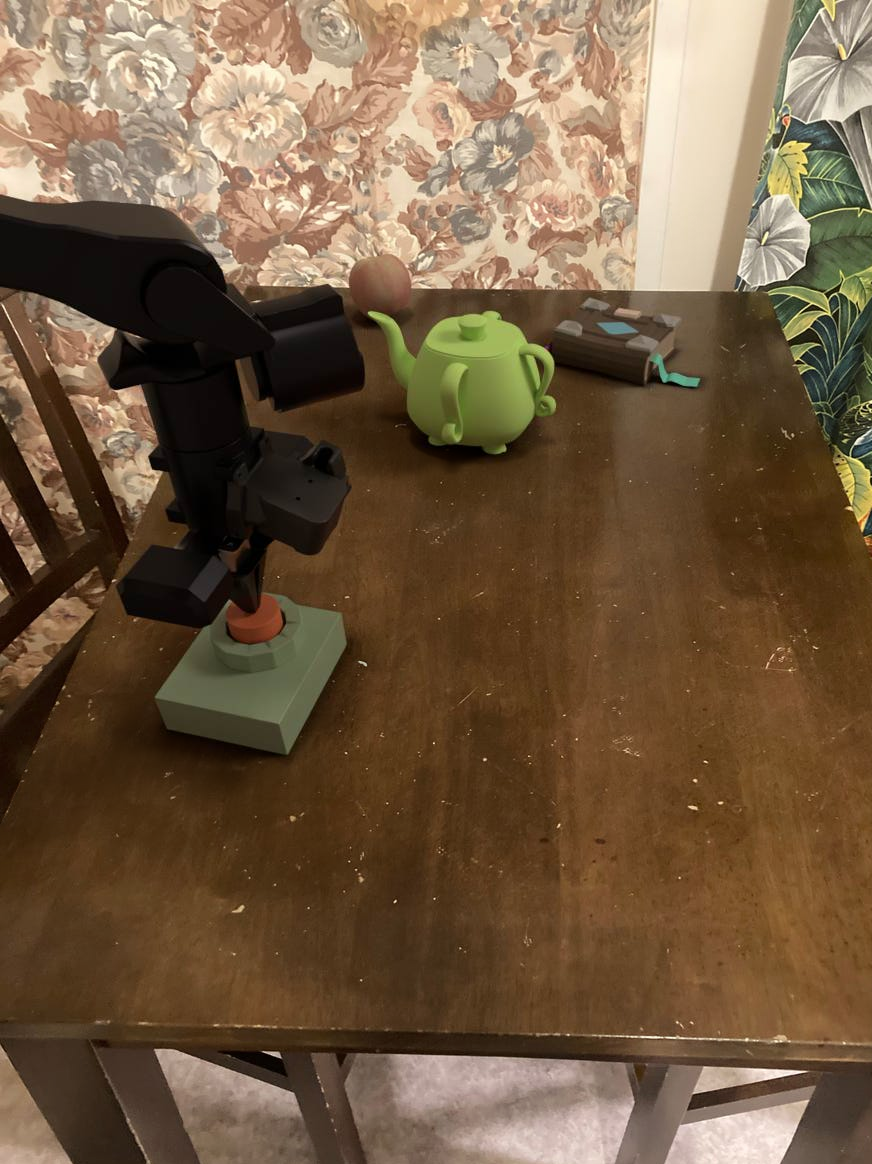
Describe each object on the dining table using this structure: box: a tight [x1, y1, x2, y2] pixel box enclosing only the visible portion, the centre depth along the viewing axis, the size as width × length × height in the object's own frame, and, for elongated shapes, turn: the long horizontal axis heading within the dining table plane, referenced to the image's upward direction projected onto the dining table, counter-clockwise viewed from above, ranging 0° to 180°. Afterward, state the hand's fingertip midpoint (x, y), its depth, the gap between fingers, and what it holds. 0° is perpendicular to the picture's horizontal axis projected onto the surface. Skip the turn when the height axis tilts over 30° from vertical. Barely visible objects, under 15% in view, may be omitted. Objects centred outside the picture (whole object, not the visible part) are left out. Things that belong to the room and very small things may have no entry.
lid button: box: [226, 592, 283, 645], centre depth 68 cm, size 4×4×2 cm
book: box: [543, 297, 701, 388], centre depth 107 cm, size 20×12×5 cm, turn 60°
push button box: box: [153, 592, 347, 756], centre depth 69 cm, size 12×10×6 cm
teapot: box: [368, 310, 557, 455], centre depth 93 cm, size 16×14×13 cm
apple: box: [348, 253, 412, 321], centre depth 115 cm, size 8×8×8 cm
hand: (251, 609), depth 67 cm, fingers closed
